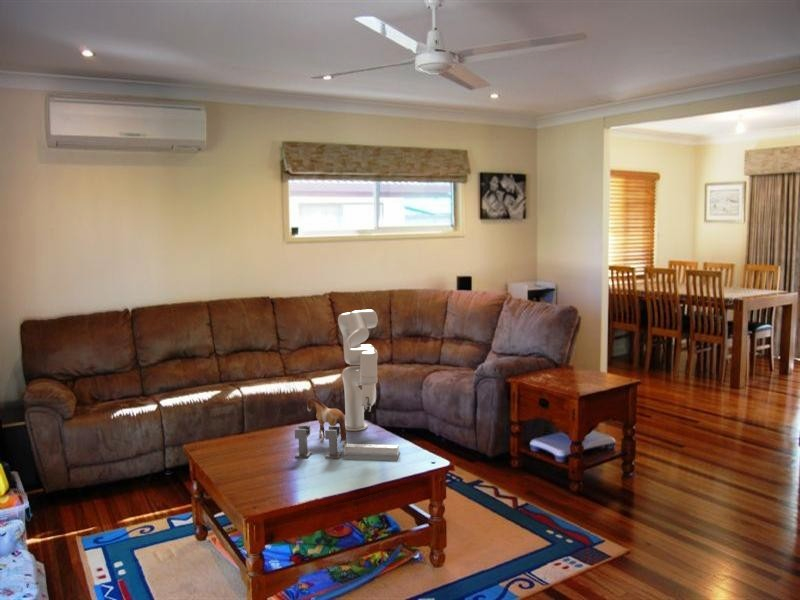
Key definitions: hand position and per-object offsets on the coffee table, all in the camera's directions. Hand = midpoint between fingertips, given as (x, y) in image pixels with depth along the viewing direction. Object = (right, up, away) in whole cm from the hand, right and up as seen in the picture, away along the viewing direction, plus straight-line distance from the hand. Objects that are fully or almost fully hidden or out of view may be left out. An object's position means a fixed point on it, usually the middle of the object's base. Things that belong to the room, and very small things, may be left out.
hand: (370, 416), depth 299 cm
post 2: (-16, -18, +2) cm, 25 cm away
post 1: (-30, -18, +4) cm, 36 cm away
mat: (+1, -18, +1) cm, 18 cm away
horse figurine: (-22, -17, +19) cm, 33 cm away
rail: (+1, -17, +1) cm, 17 cm away
